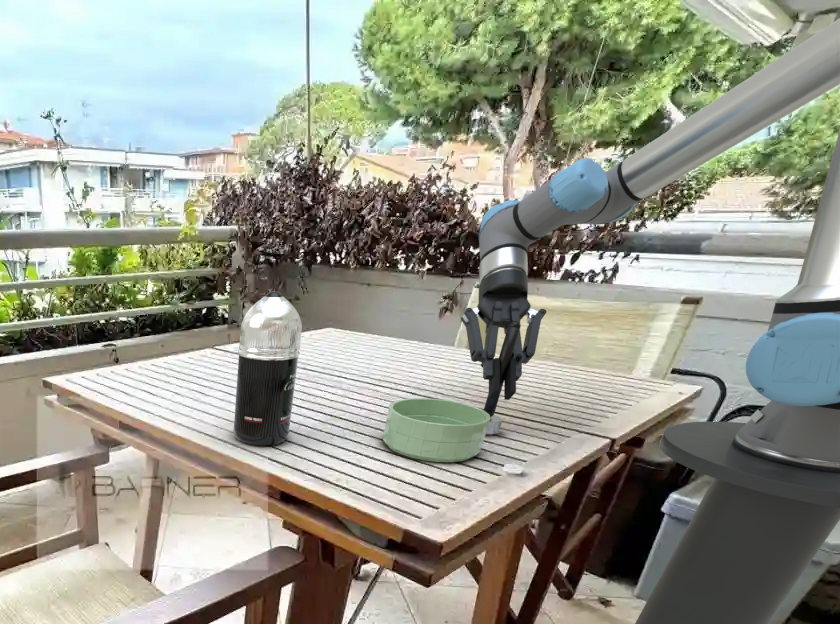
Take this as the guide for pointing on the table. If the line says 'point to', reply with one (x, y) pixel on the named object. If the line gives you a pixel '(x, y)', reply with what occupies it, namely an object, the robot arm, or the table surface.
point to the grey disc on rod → (502, 375)
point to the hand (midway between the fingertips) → (502, 395)
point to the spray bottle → (267, 371)
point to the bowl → (435, 429)
